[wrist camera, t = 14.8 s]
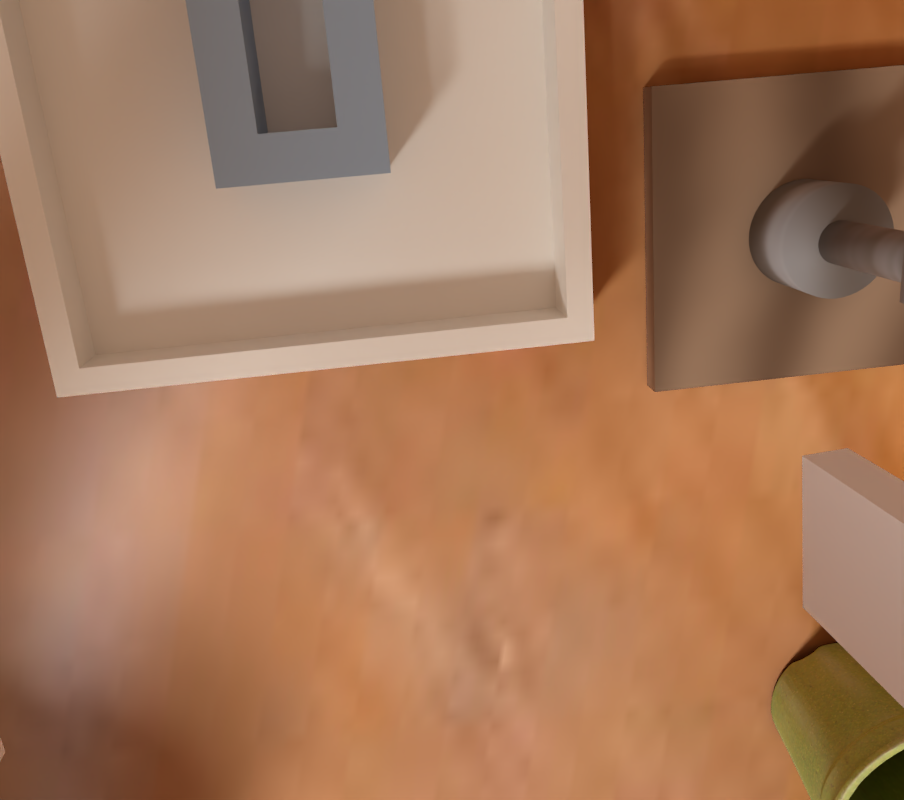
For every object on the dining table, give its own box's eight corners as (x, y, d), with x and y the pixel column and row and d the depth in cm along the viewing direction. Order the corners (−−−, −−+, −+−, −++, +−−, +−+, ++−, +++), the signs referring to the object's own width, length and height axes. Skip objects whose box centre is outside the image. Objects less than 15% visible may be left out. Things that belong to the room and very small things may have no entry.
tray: (82, 375, 34) (57, 397, 31) (-82, -360, 27) (-135, -419, 24) (575, 323, 36) (594, 340, 33) (547, -388, 28) (568, -446, 25)
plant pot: (766, 599, 41) (869, 718, 32) (945, 619, 42) (1087, 738, 34) (715, 763, 43) (798, 912, 35) (885, 777, 45) (1004, 923, 36)
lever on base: (647, 385, 37) (779, 501, 25) (643, 87, 33) (795, 63, 21) (914, 355, 38) (1161, 455, 26) (939, 62, 34) (1240, 26, 22)
